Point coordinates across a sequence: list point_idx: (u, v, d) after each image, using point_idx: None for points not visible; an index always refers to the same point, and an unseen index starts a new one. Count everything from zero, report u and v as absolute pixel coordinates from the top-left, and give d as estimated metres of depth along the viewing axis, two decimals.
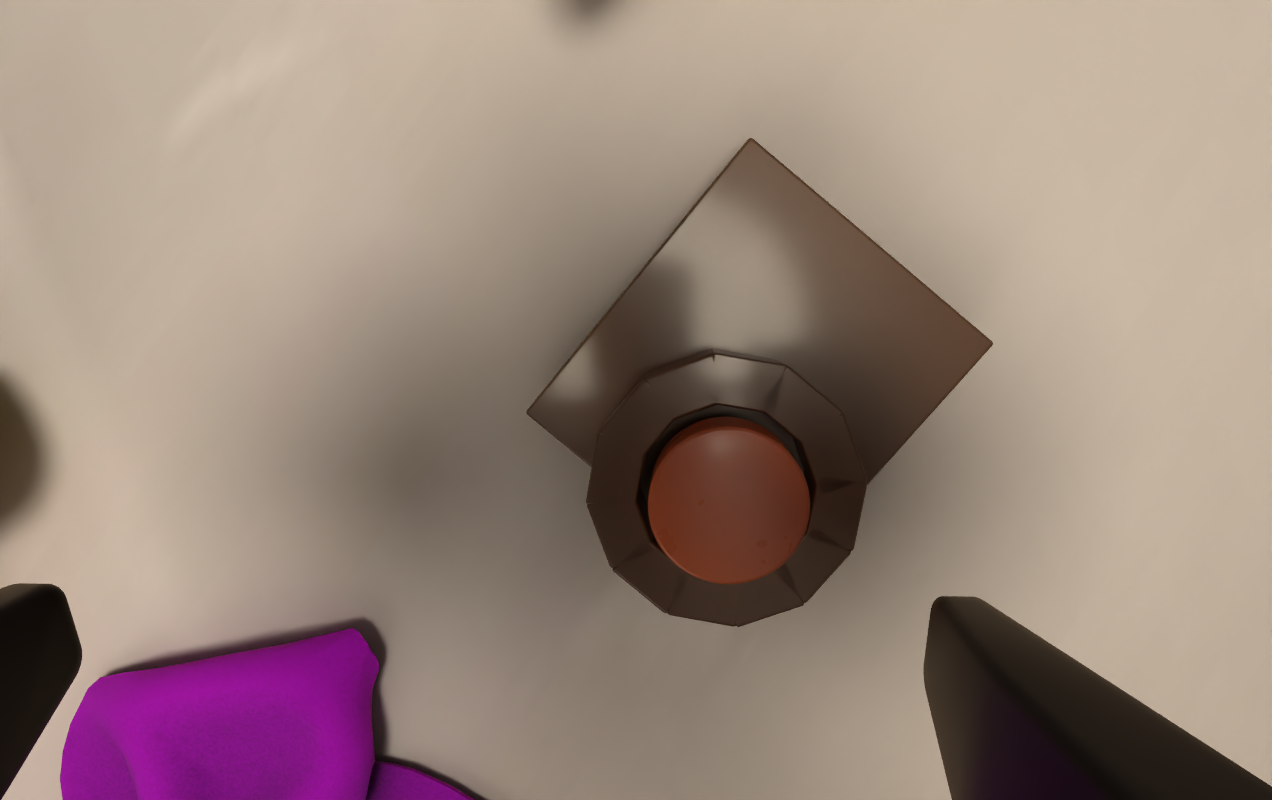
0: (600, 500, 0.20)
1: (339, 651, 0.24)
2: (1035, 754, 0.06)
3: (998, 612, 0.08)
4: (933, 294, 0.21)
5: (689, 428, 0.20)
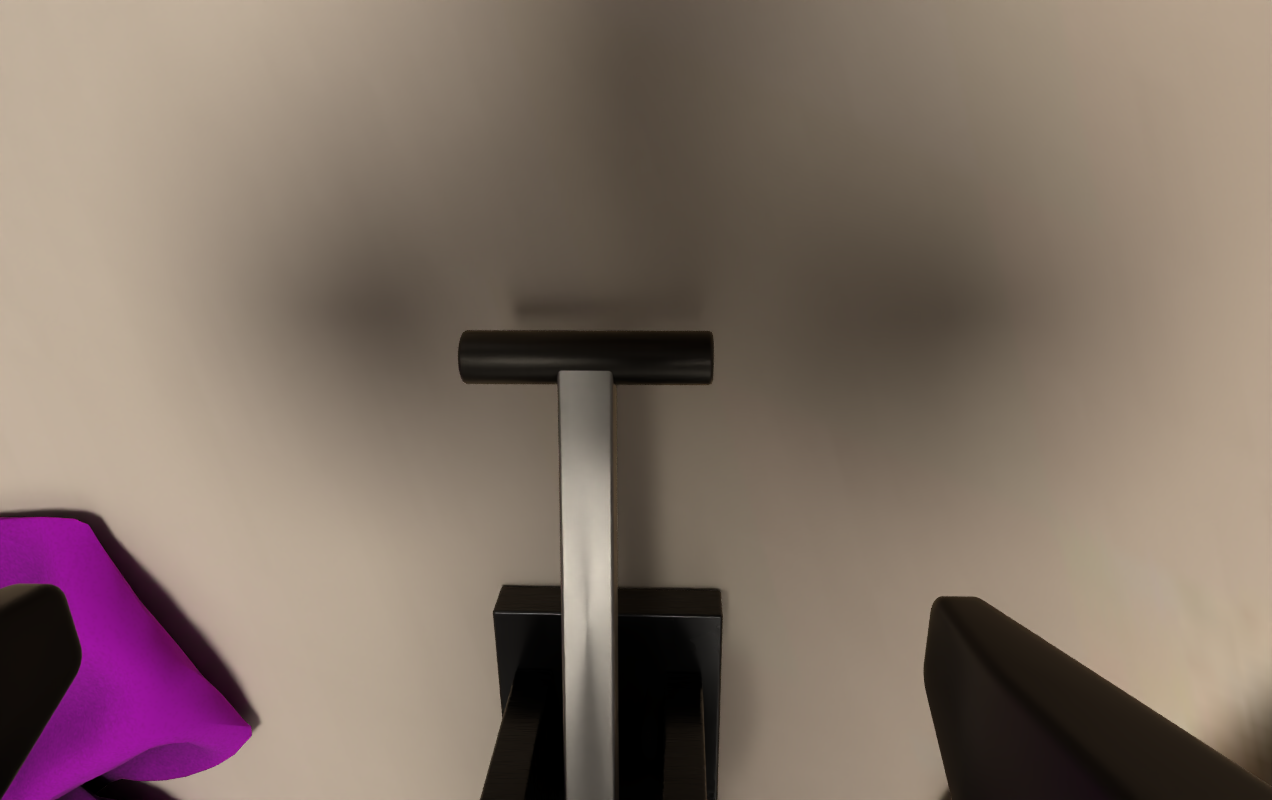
0: None
1: None
2: (1035, 754, 0.06)
3: (998, 612, 0.08)
4: None
5: None
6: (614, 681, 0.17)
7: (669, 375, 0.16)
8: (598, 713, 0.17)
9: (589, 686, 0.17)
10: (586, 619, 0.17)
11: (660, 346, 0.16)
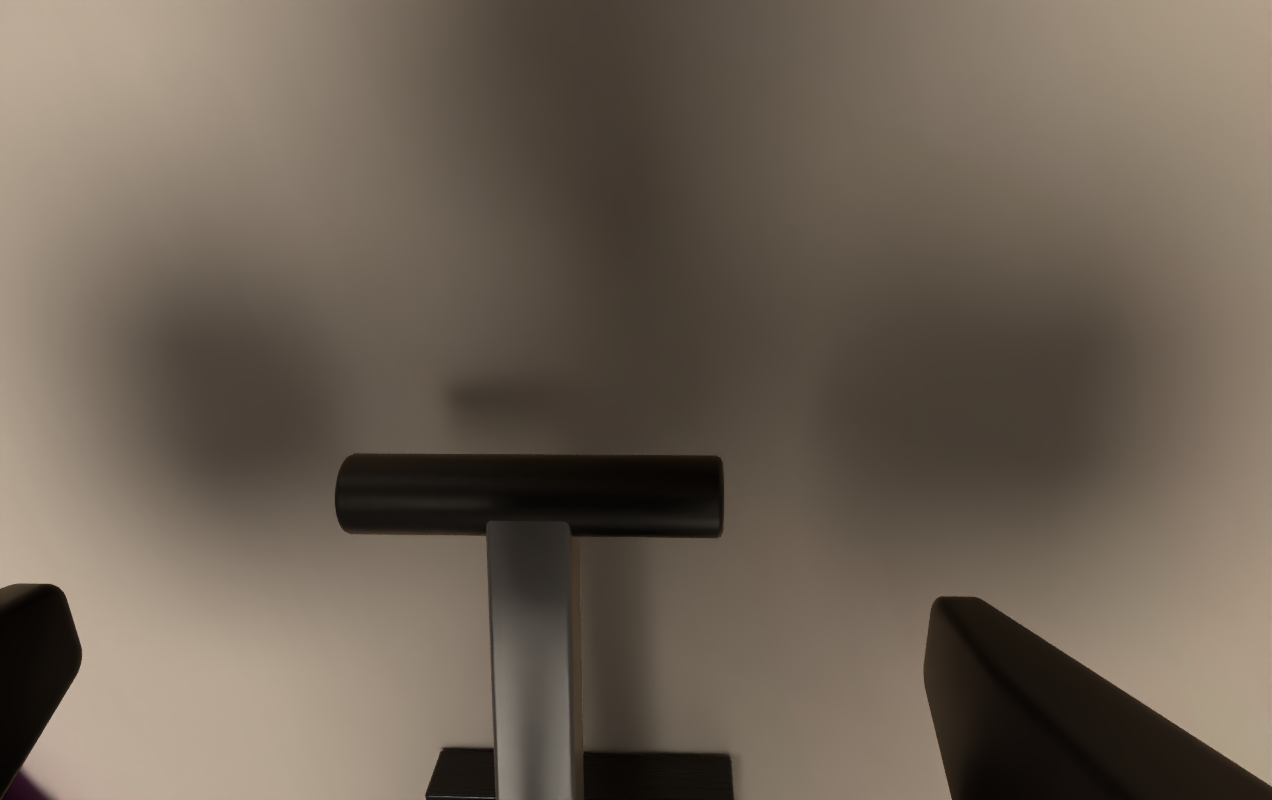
0: None
1: None
2: (1035, 754, 0.06)
3: (999, 612, 0.08)
4: None
5: None
6: None
7: (656, 528, 0.11)
8: None
9: None
10: None
11: (643, 484, 0.11)
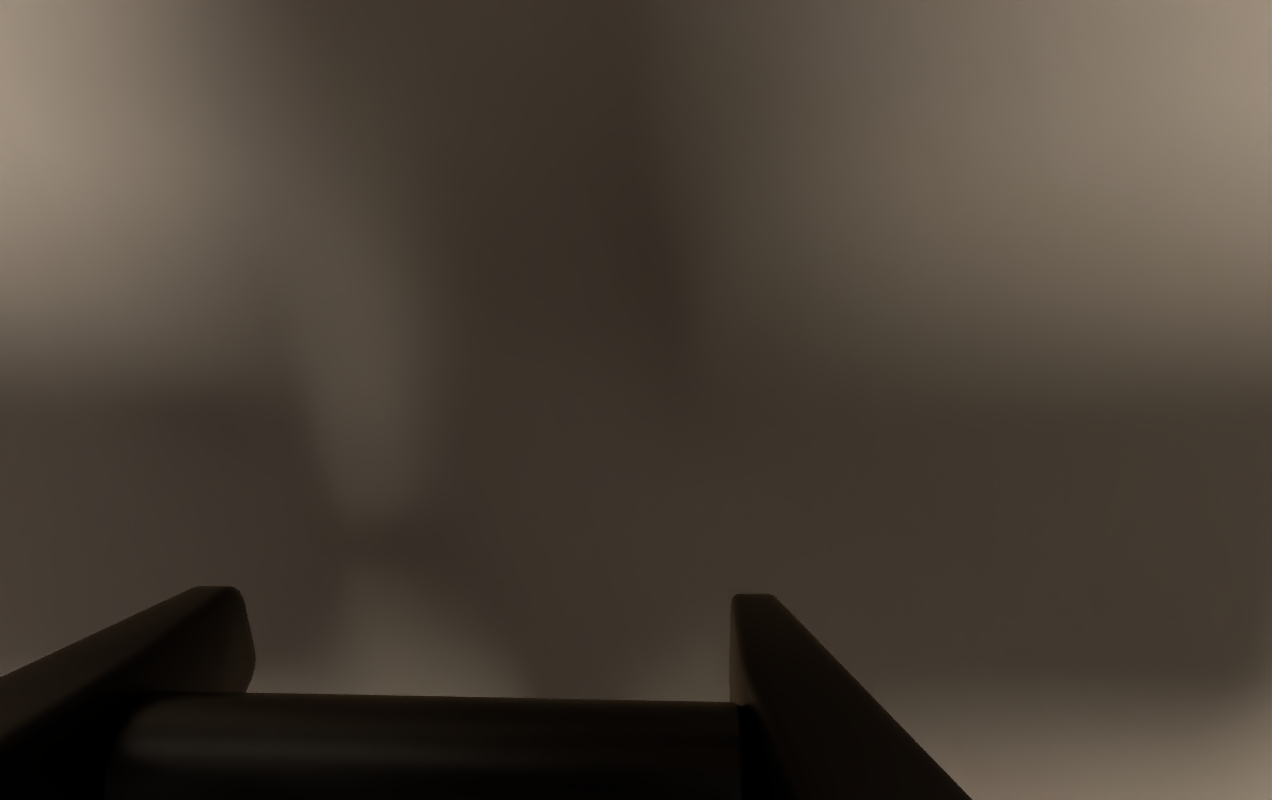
0: None
1: None
2: (762, 748, 0.06)
3: (782, 609, 0.08)
4: None
5: None
6: None
7: None
8: None
9: None
10: None
11: (613, 772, 0.06)
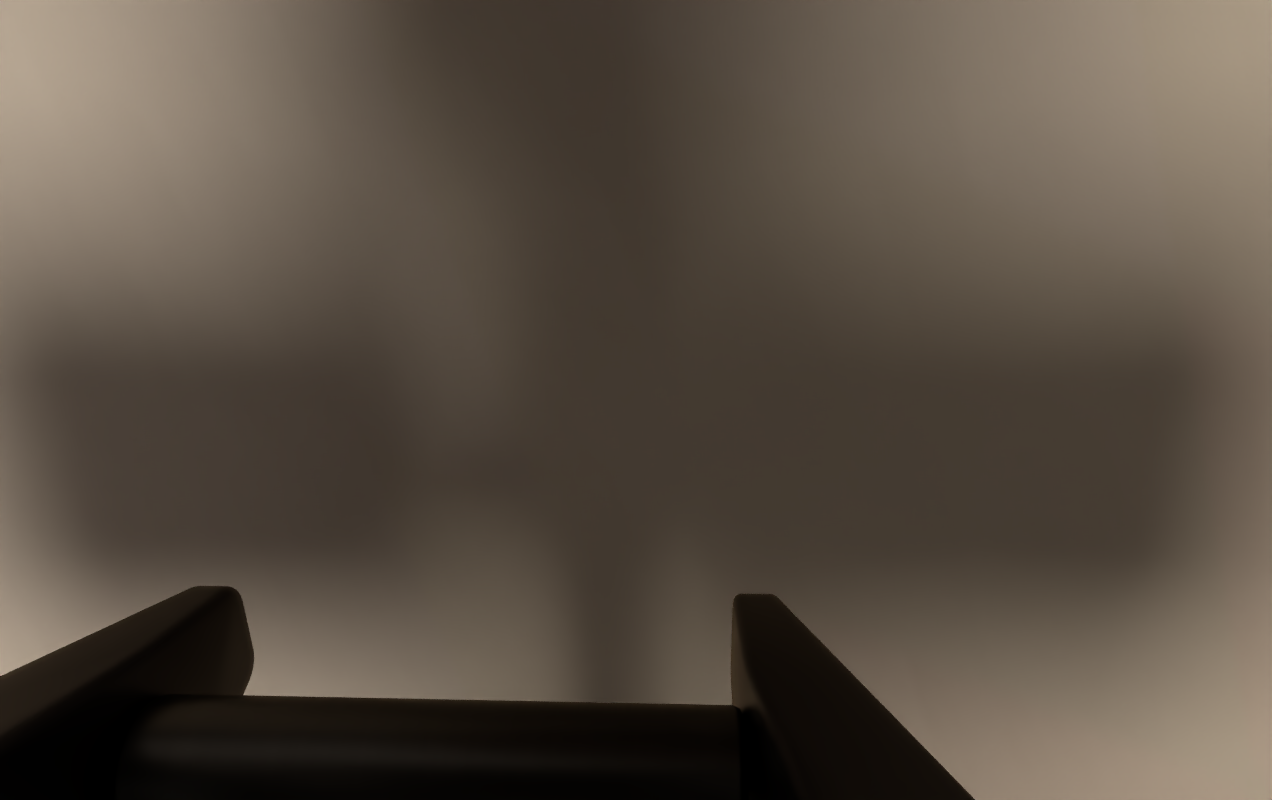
0: None
1: None
2: (764, 748, 0.06)
3: (784, 609, 0.08)
4: None
5: None
6: None
7: None
8: None
9: None
10: None
11: (613, 788, 0.06)
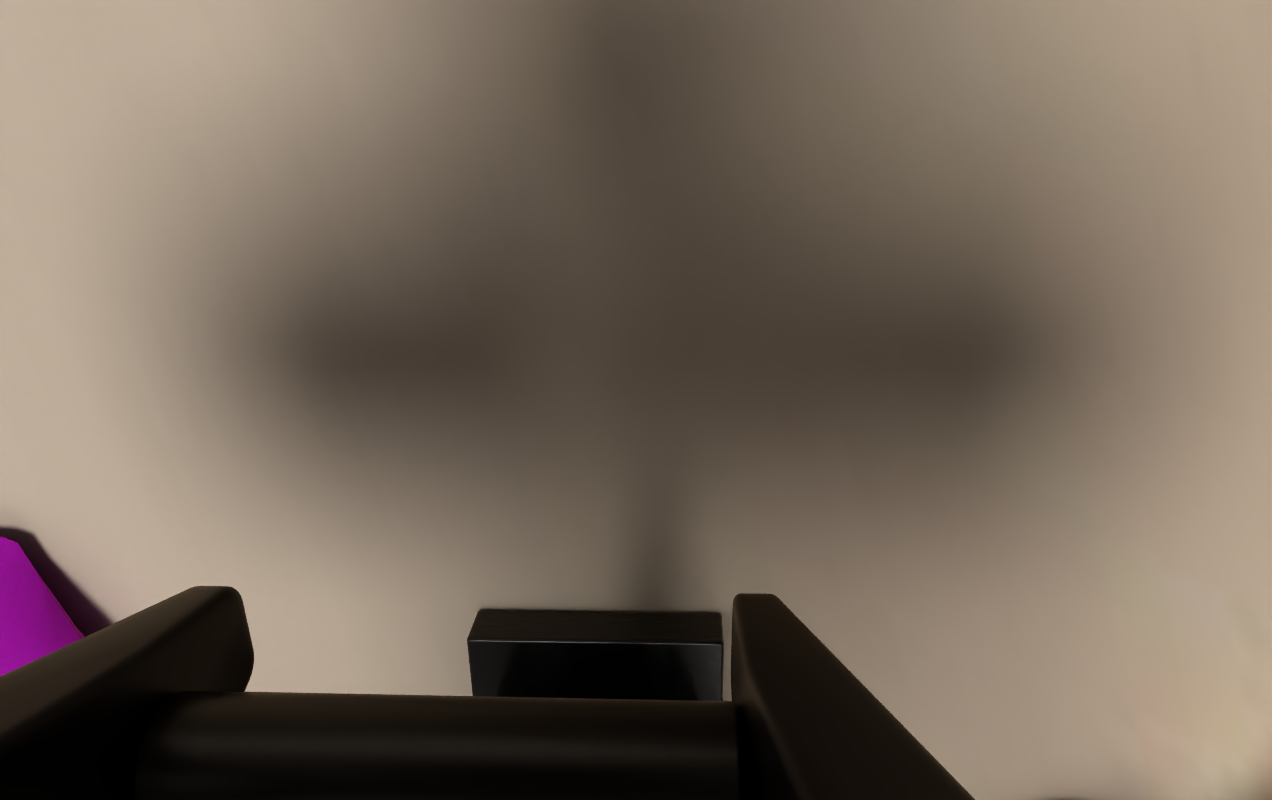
0: None
1: None
2: (764, 747, 0.06)
3: (784, 609, 0.08)
4: None
5: None
6: None
7: None
8: None
9: None
10: None
11: None
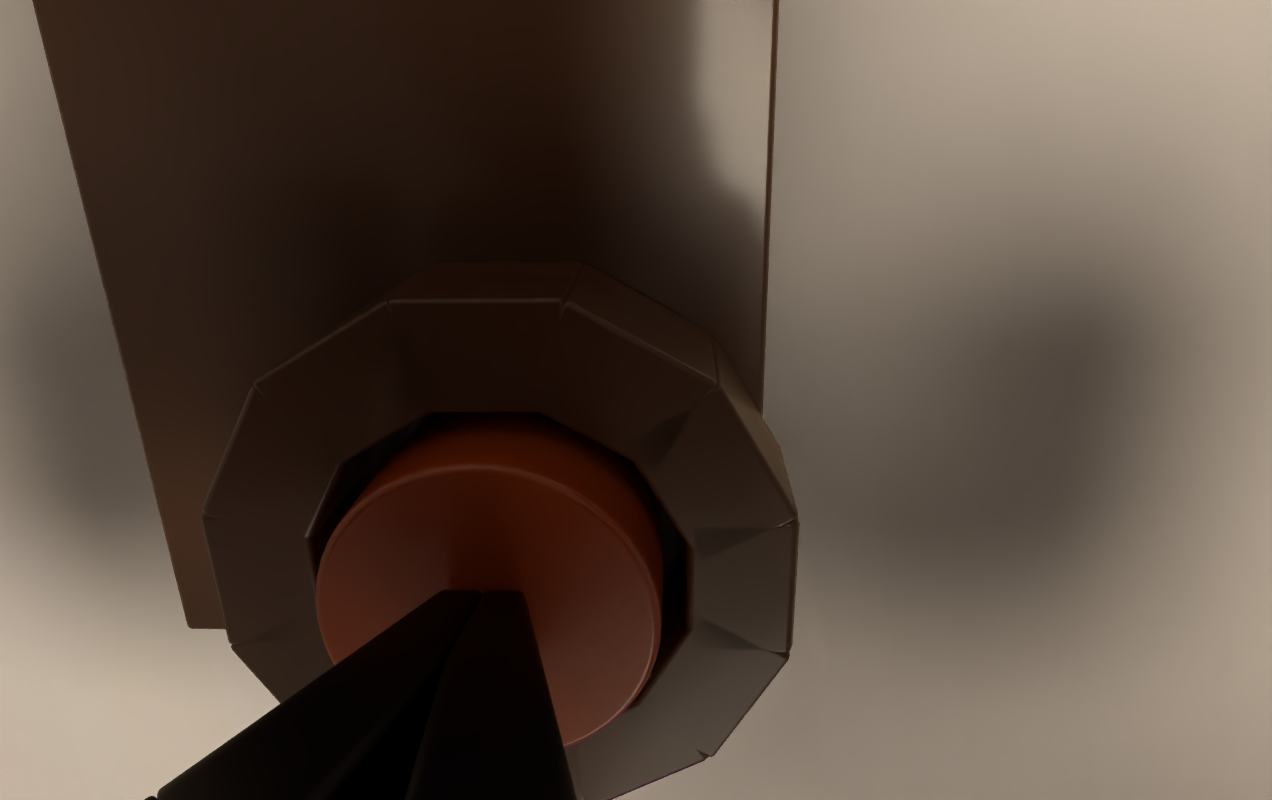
0: None
1: None
2: None
3: (519, 605, 0.08)
4: None
5: None
6: None
7: None
8: None
9: None
10: None
11: None
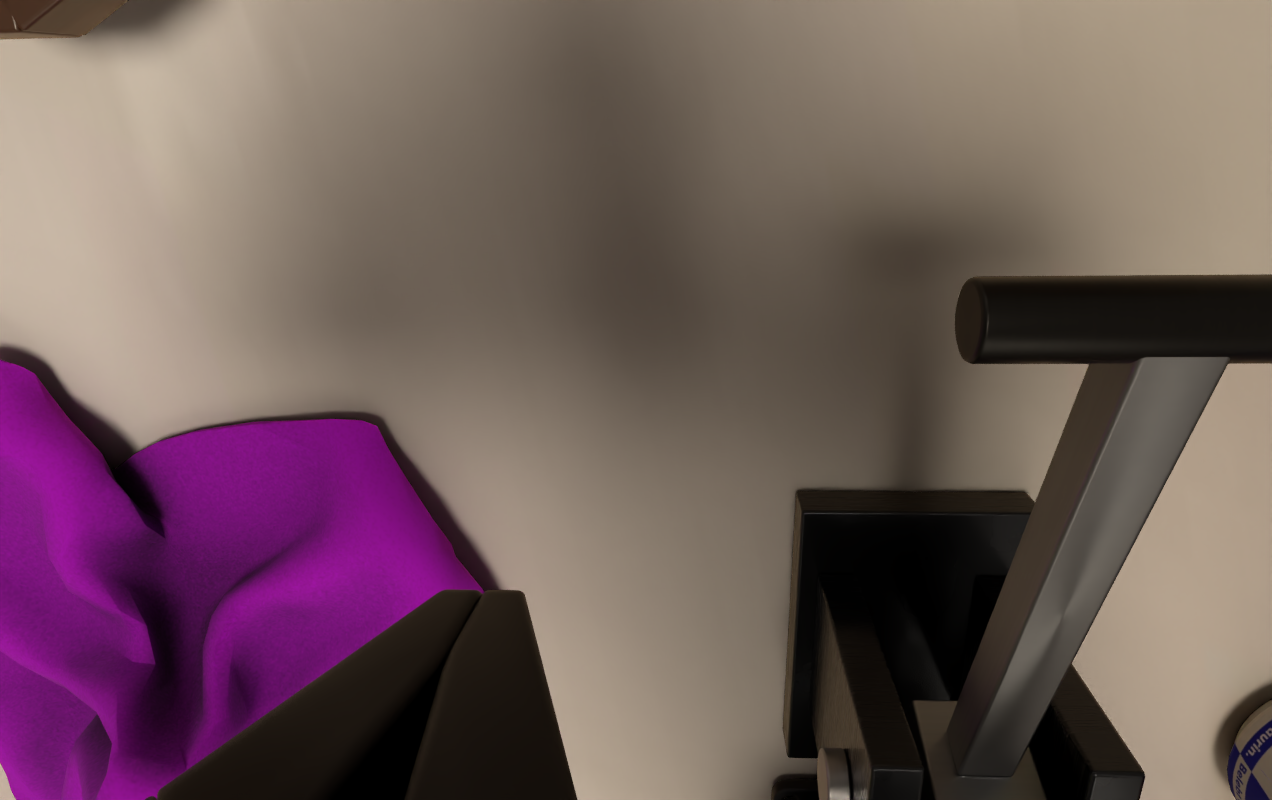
0: None
1: None
2: None
3: (519, 605, 0.08)
4: None
5: None
6: (1070, 663, 0.14)
7: None
8: (1039, 687, 0.15)
9: (1038, 668, 0.14)
10: (1061, 616, 0.13)
11: None
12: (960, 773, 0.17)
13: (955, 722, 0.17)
